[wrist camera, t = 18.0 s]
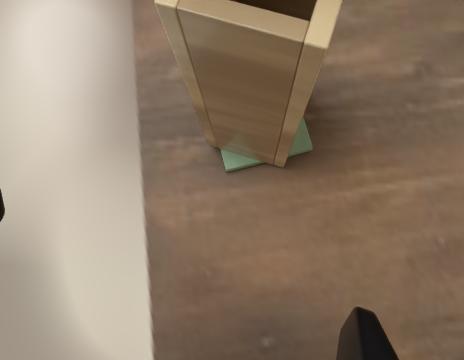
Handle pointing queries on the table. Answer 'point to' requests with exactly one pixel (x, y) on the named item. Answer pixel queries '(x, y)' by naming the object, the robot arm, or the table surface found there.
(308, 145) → the coat peg
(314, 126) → the table surface
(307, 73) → the square pencil holder
